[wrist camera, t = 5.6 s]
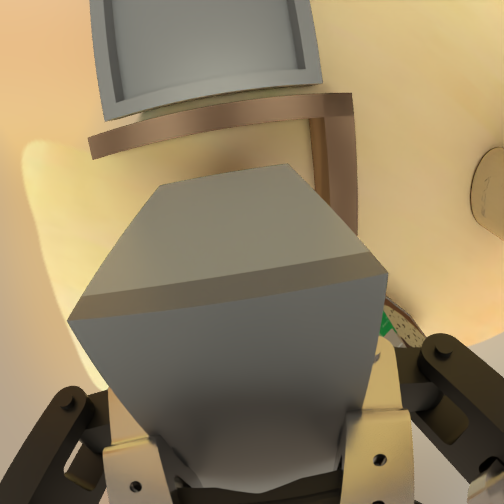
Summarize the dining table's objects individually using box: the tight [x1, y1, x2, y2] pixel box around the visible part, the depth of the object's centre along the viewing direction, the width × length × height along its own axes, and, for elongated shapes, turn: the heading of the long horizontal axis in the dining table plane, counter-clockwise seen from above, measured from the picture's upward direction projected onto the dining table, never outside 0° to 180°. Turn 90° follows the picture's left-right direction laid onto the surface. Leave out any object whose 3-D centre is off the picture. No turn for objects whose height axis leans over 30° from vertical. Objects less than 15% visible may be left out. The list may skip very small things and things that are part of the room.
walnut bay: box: [88, 93, 358, 236], centre depth 20 cm, size 16×14×4 cm
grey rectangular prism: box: [67, 164, 388, 493], centre depth 9 cm, size 4×9×7 cm, turn 8°
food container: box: [379, 296, 427, 348], centre depth 25 cm, size 12×6×10 cm, turn 53°
